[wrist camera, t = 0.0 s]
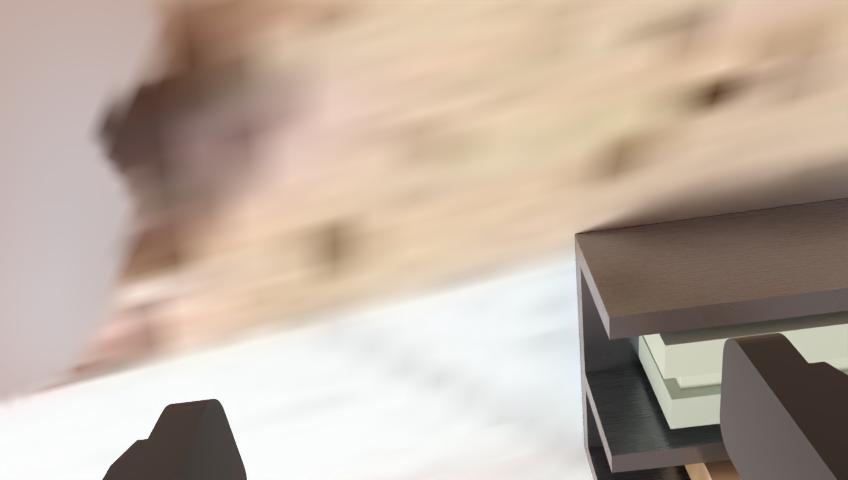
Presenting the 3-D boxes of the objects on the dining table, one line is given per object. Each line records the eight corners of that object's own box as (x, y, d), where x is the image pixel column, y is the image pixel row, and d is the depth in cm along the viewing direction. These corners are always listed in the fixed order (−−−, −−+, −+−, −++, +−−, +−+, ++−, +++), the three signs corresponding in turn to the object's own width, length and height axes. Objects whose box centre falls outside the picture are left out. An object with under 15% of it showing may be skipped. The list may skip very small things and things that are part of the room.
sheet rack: (574, 234, 29) (609, 317, 24) (911, 189, 28) (1024, 265, 23) (584, 447, 35) (613, 549, 30) (858, 416, 34) (938, 516, 29)
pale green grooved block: (627, 271, 29) (665, 345, 24) (869, 240, 28) (952, 310, 24) (627, 358, 31) (661, 439, 27) (850, 331, 30) (923, 410, 26)
